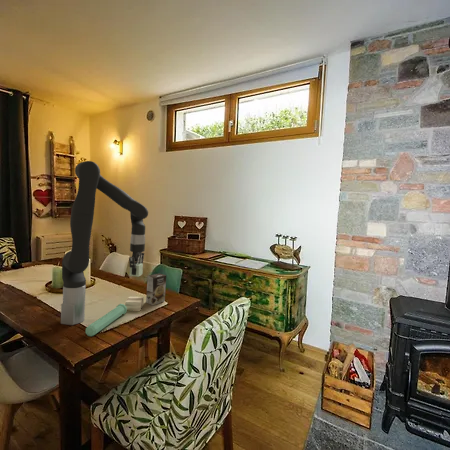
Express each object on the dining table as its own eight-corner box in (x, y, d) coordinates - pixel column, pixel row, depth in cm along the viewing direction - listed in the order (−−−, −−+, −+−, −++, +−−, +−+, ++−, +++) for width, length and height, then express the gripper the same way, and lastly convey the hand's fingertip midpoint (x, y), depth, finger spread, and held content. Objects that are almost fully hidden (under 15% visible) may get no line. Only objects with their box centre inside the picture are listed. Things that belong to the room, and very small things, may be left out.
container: (92, 324, 112) (125, 302, 137) (80, 327, 114) (115, 304, 138) (96, 337, 112) (128, 313, 137) (85, 340, 114) (118, 315, 138)
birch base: (140, 311, 143) (140, 302, 142) (124, 310, 142) (125, 301, 141) (143, 305, 151) (143, 297, 150) (128, 305, 150) (128, 296, 149)
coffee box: (152, 305, 151) (154, 278, 150) (145, 302, 155) (147, 275, 153) (165, 301, 158) (166, 275, 157) (158, 298, 162) (159, 272, 161)
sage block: (138, 276, 142) (139, 265, 141) (129, 275, 142) (130, 264, 142) (142, 274, 147) (142, 263, 146) (133, 273, 147) (134, 262, 147)
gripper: (136, 240, 150) (135, 269, 152) (124, 243, 136) (123, 276, 138) (149, 241, 150) (147, 270, 151) (138, 245, 135) (137, 277, 137)
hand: (136, 273), depth 144 cm, fingers closed on sage block, 5 cm apart
